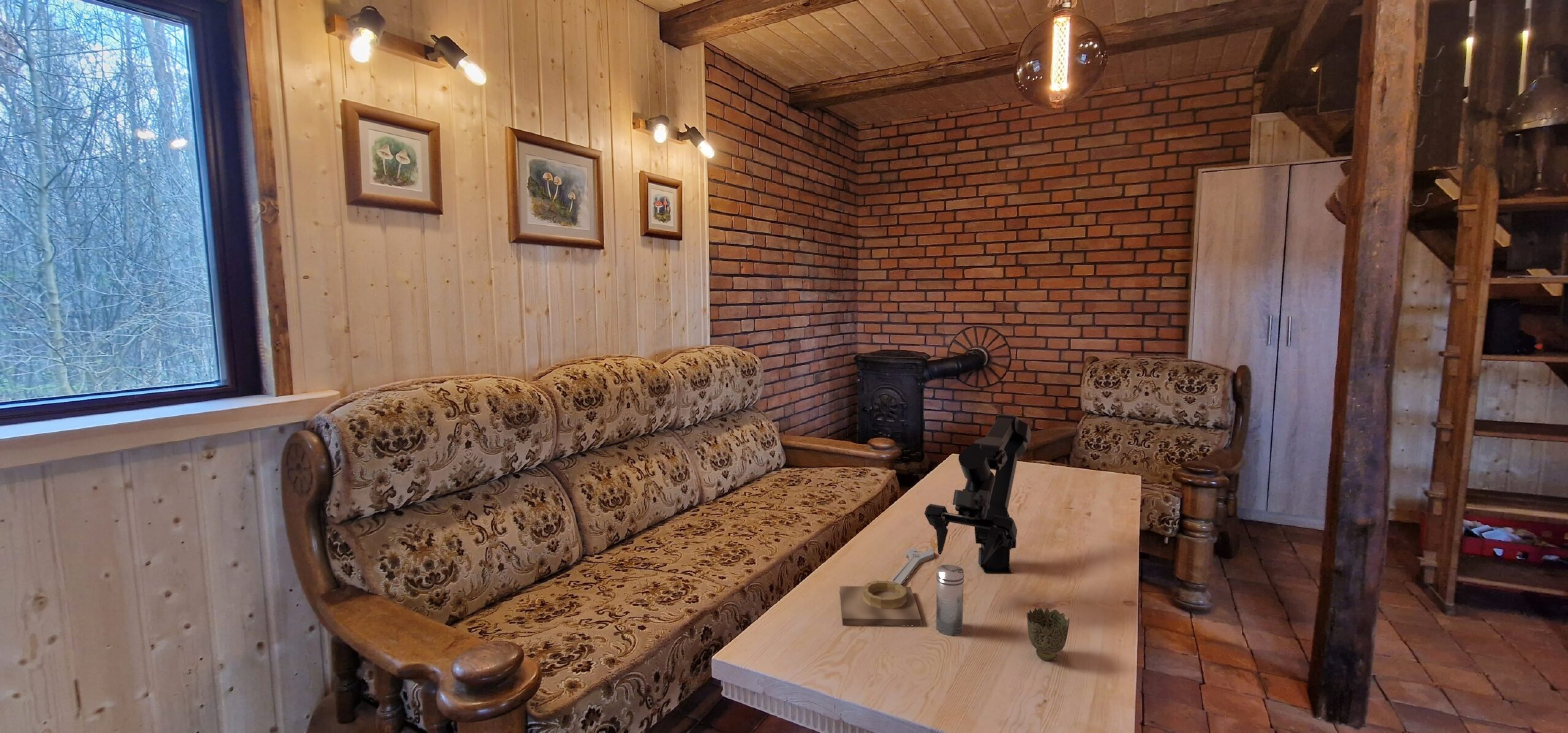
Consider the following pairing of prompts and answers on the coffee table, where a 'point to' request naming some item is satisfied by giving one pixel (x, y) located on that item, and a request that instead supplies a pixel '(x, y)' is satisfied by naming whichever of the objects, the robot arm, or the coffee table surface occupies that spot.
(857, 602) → the ring seat
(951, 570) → the silver metal cylinder
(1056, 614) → the cup
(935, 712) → the coffee table surface
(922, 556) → the adjustable wrench
